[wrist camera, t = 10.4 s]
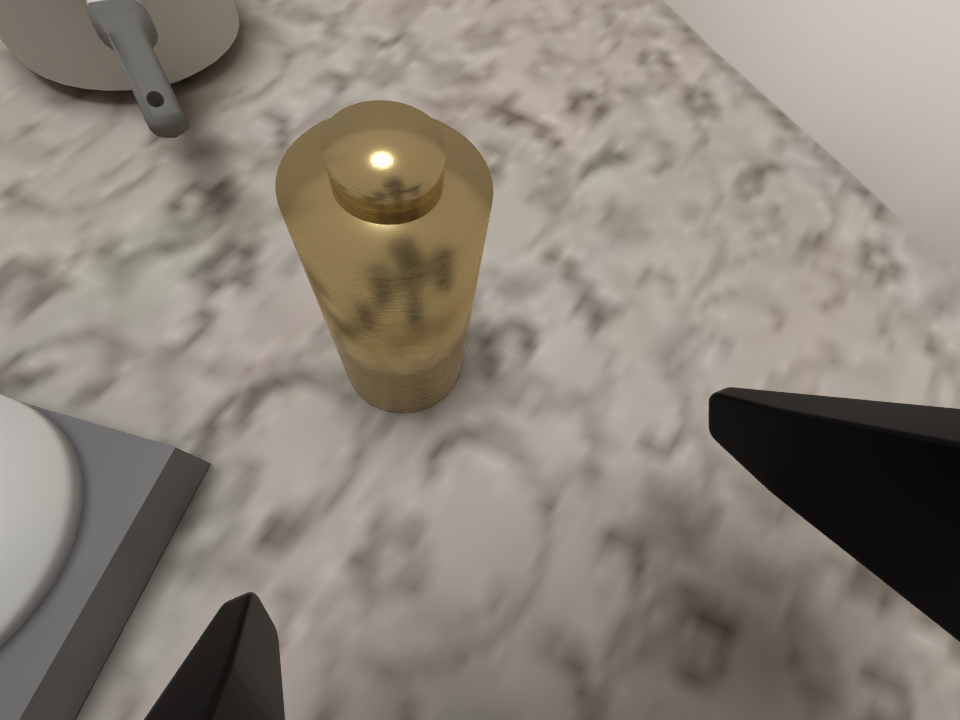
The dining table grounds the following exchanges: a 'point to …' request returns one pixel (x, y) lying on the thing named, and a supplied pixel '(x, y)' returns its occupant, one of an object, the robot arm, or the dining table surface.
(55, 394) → the dining table surface
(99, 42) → the saucepan
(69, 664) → the kitchen scale
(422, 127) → the brass weight
